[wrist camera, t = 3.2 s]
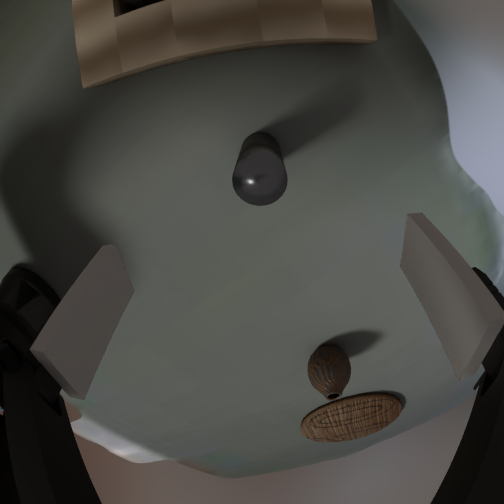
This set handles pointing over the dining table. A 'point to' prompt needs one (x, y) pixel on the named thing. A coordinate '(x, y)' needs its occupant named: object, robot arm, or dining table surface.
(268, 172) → the steel peg
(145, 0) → the seated peg
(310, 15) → the jig
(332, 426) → the trivet
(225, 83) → the dining table surface
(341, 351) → the vase
